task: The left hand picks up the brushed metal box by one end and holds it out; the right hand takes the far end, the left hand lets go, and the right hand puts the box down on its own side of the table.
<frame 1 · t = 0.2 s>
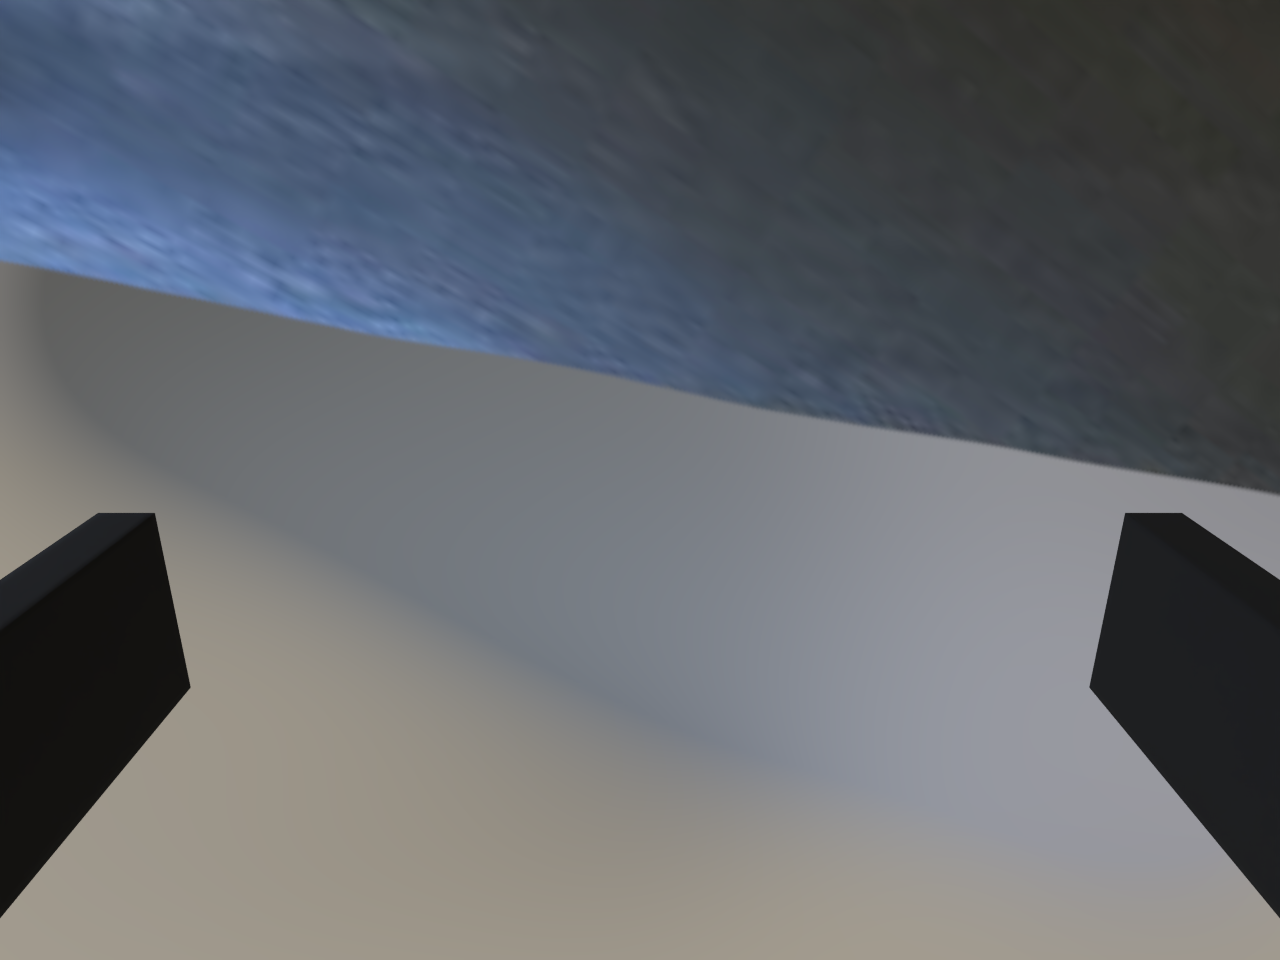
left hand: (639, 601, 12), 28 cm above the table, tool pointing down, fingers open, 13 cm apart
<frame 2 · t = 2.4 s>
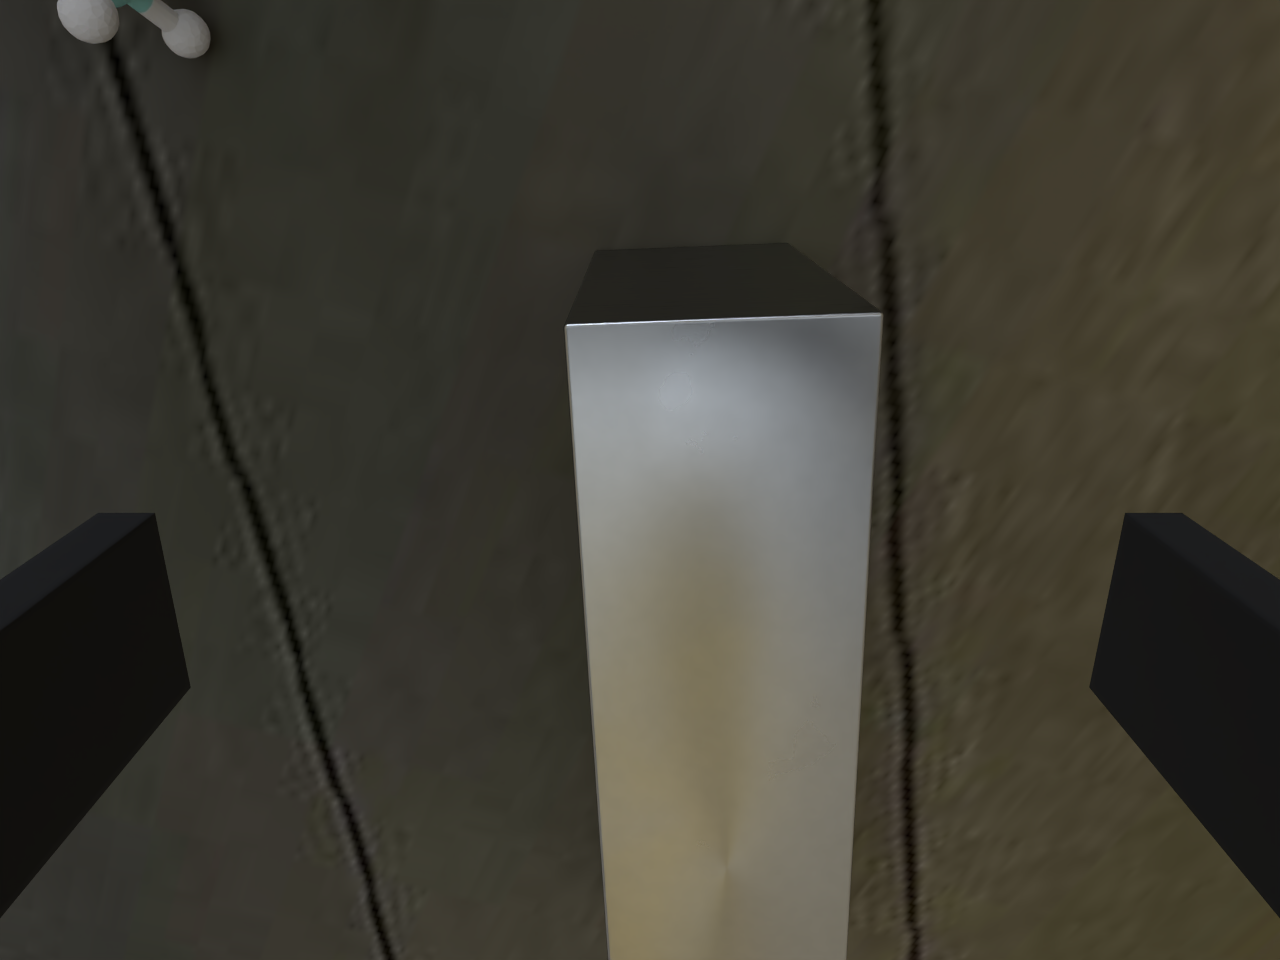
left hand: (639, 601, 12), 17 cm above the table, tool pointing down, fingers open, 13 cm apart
box: (698, 621, 32), on the table
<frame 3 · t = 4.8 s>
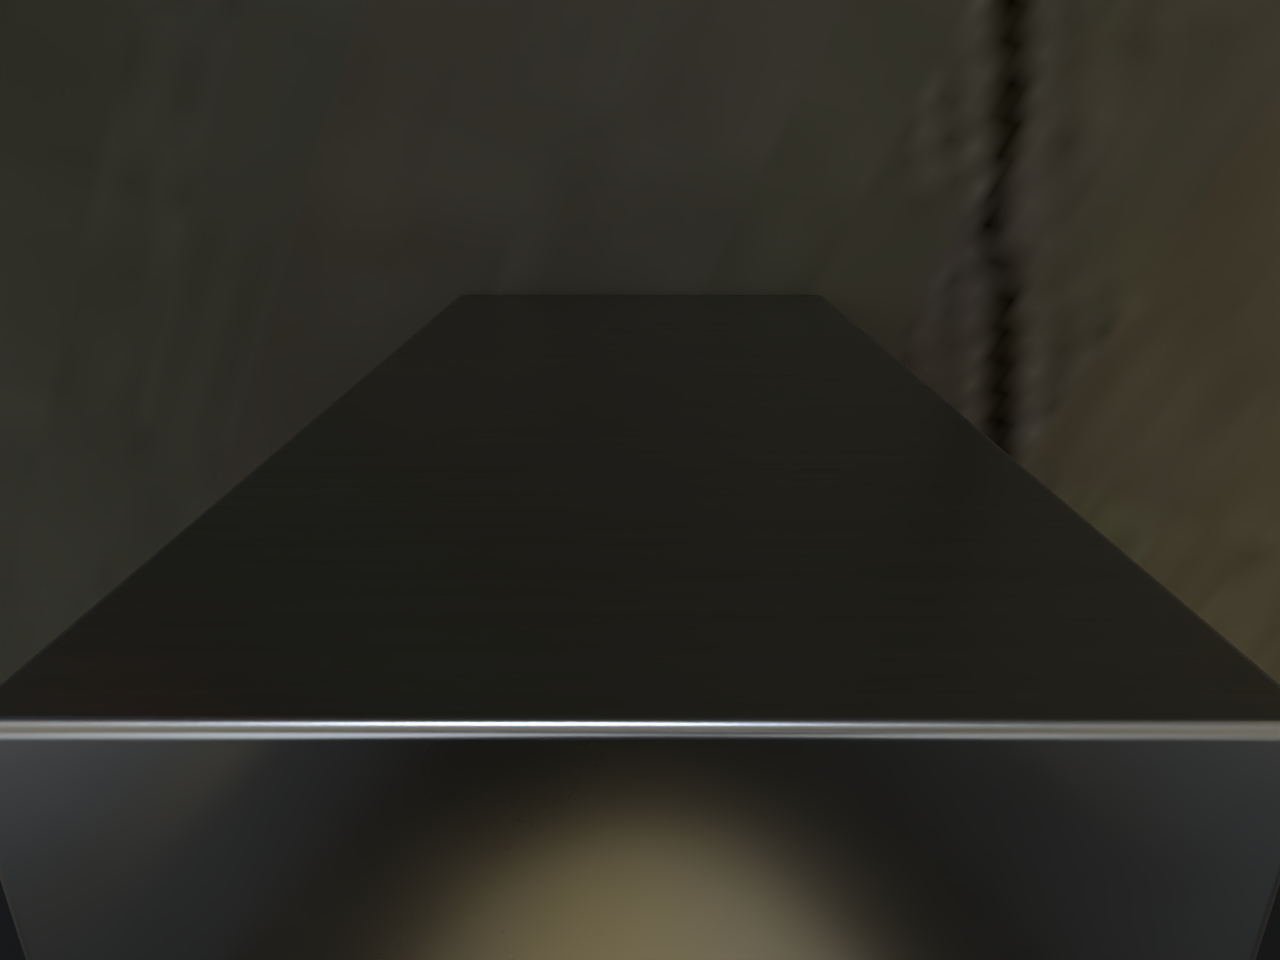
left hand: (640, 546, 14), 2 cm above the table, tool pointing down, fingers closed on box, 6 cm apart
box: (640, 909, 19), on the table, touching left hand
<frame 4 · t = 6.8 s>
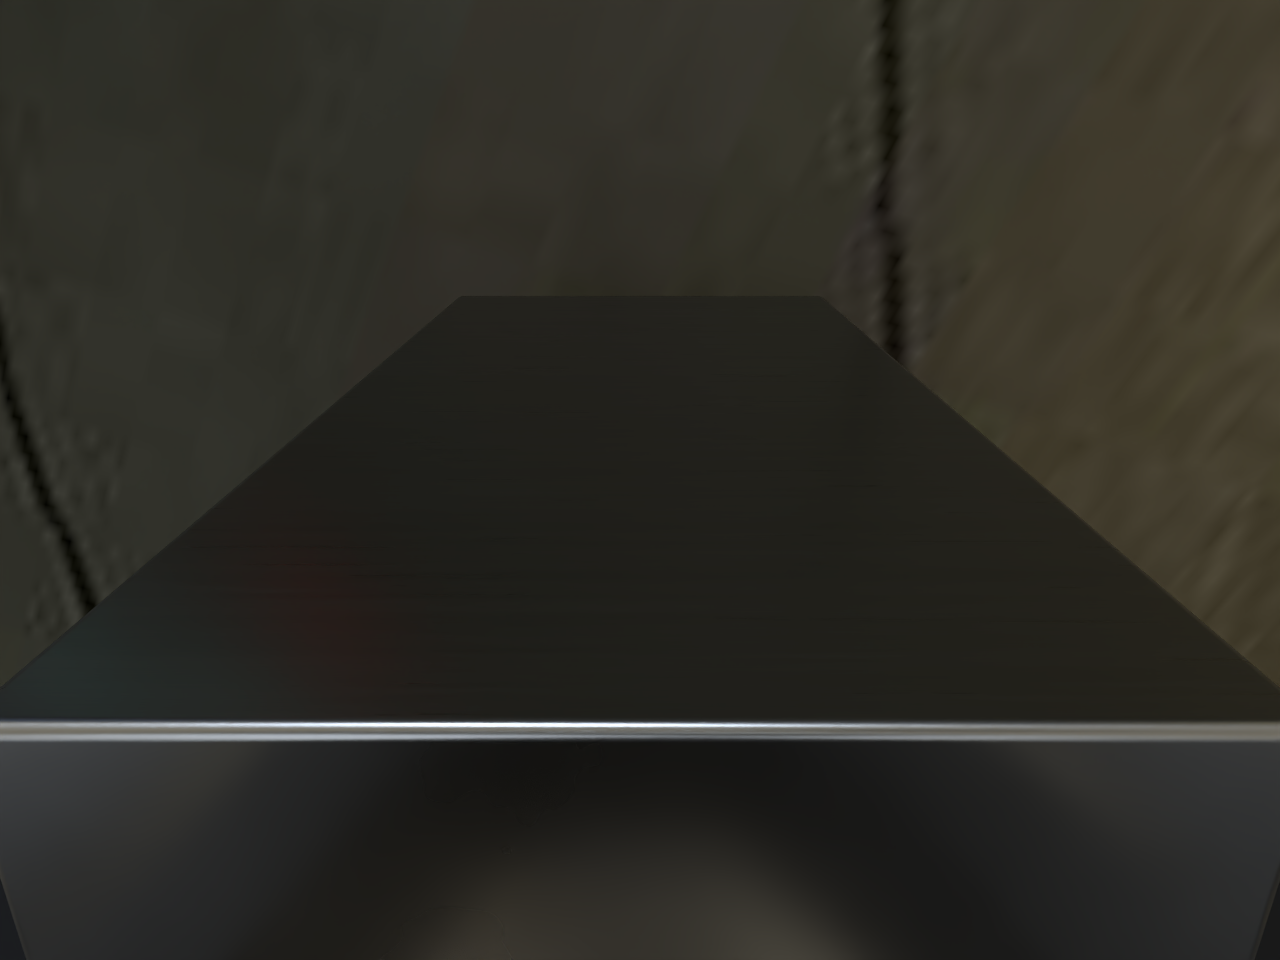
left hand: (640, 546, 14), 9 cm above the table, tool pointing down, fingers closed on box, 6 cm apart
box: (640, 910, 19), point 7 cm above the table, touching left hand
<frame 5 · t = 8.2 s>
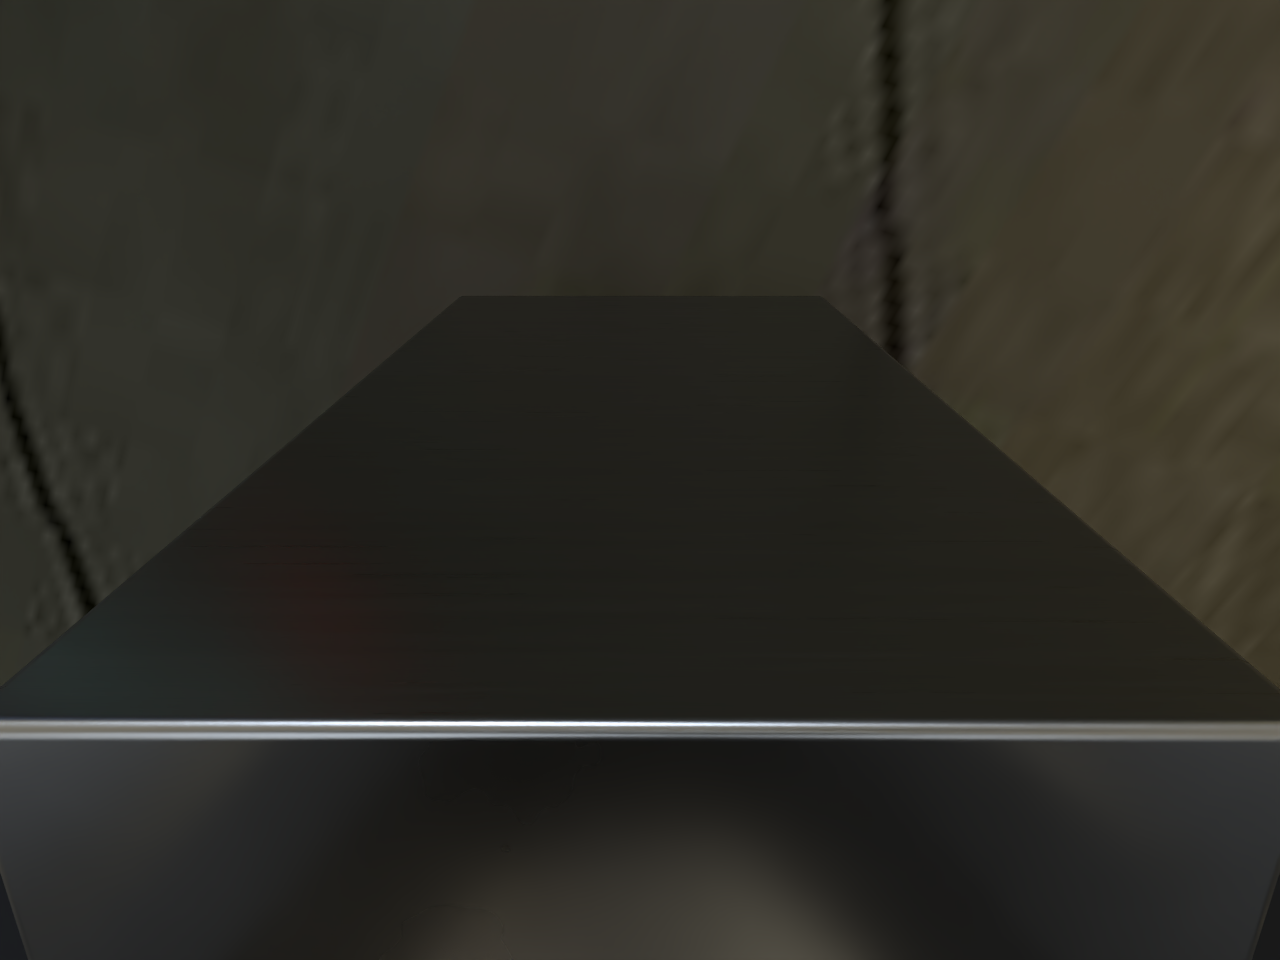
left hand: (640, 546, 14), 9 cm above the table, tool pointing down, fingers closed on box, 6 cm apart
box: (640, 909, 19), point 7 cm above the table, touching left hand, right hand
when the left hand's fingers open (9 cm above the table, at t = 9.3 s): box stays where it is, held by the right hand.
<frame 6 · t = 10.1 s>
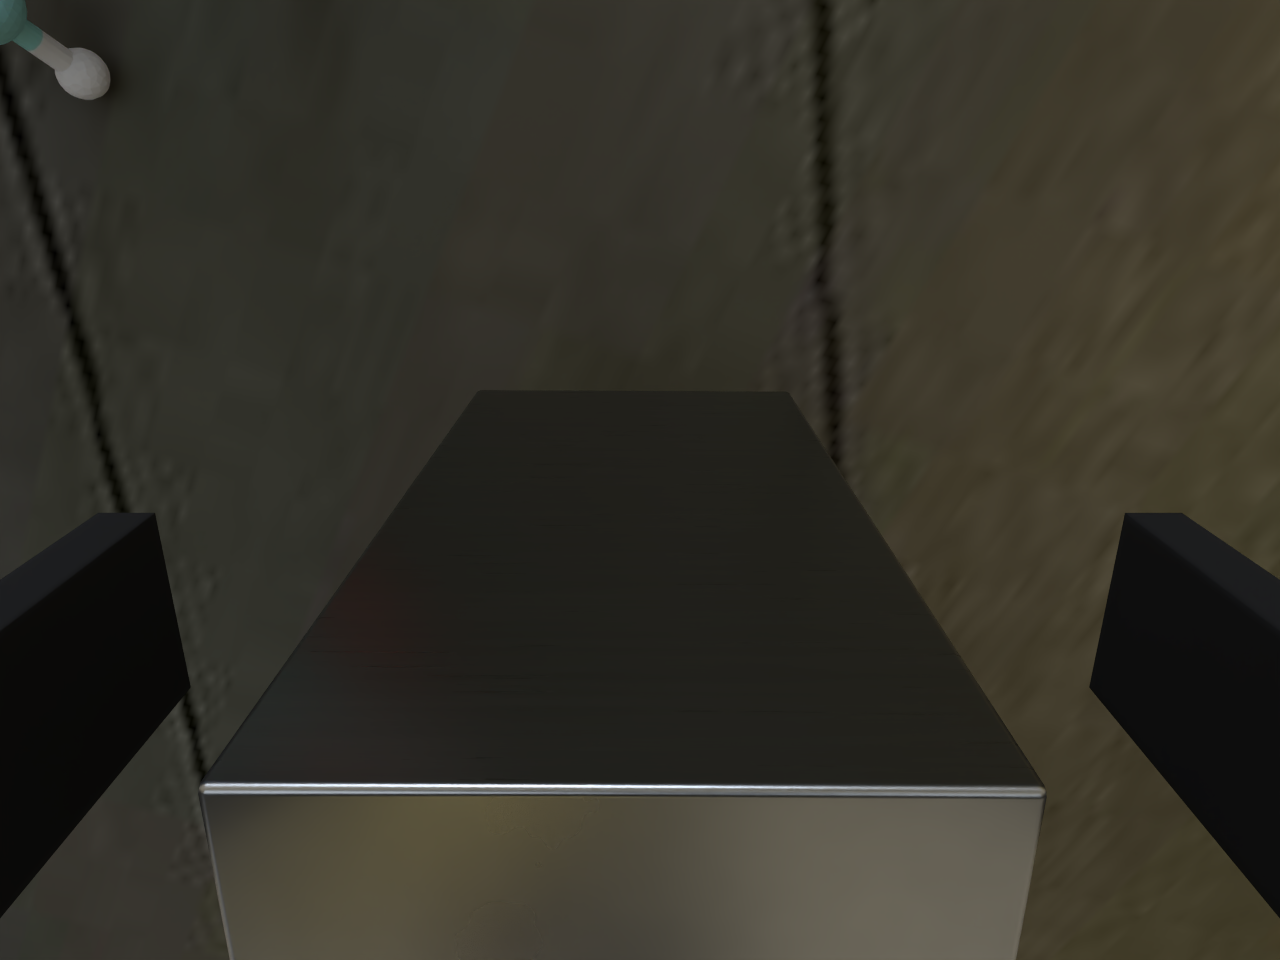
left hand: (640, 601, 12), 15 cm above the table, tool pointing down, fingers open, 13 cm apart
box: (631, 923, 22), point 9 cm above the table, touching right hand
when the right hand's fingers open (8 cm above the table, at t = 13.7 s): box stays where it is, on the table.
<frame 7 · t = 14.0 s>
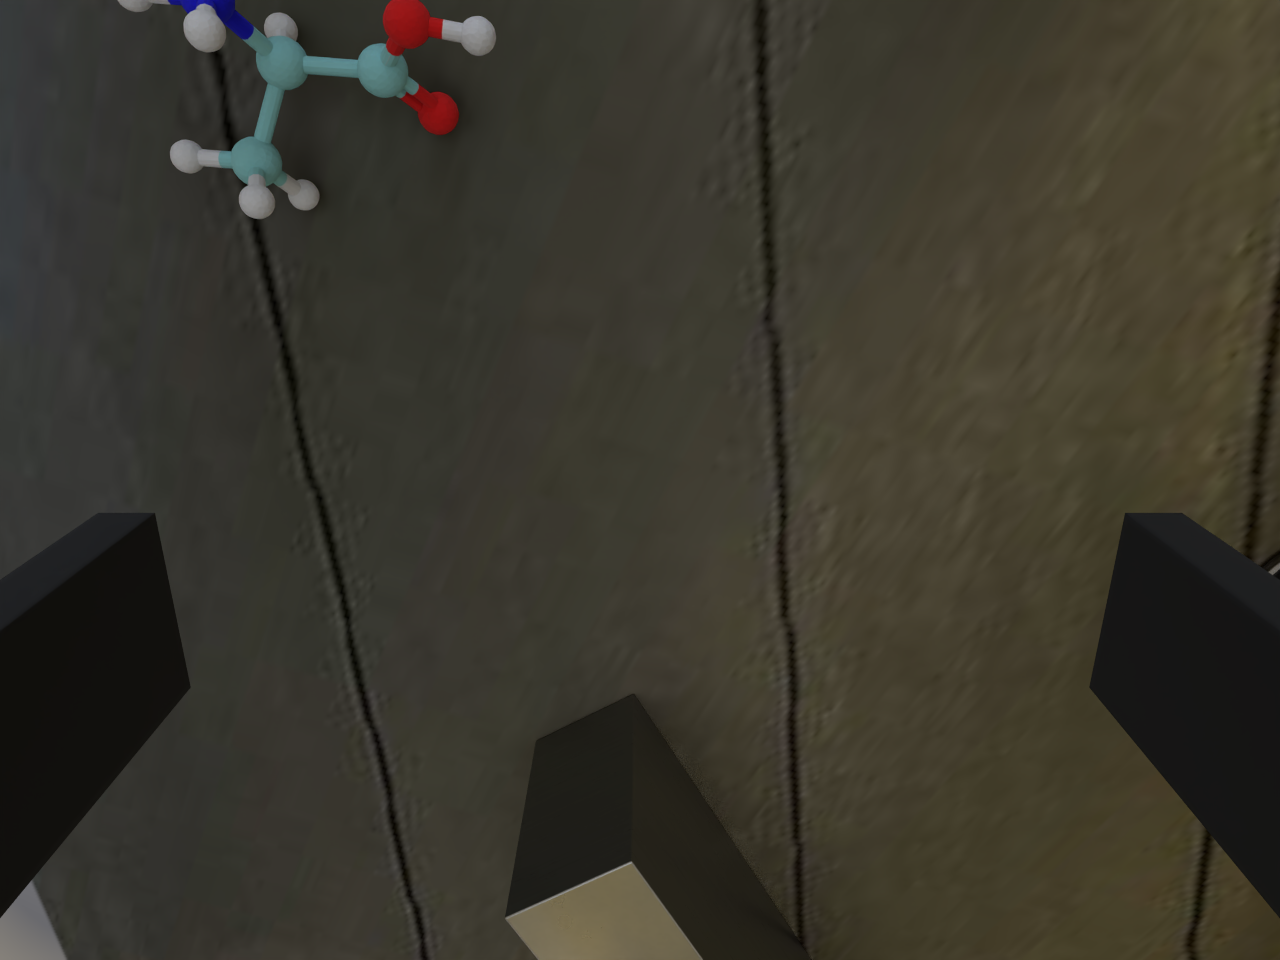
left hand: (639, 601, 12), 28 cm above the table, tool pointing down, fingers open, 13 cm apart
box: (702, 887, 51), on the table
molecular model: (327, 79, 36), on the table
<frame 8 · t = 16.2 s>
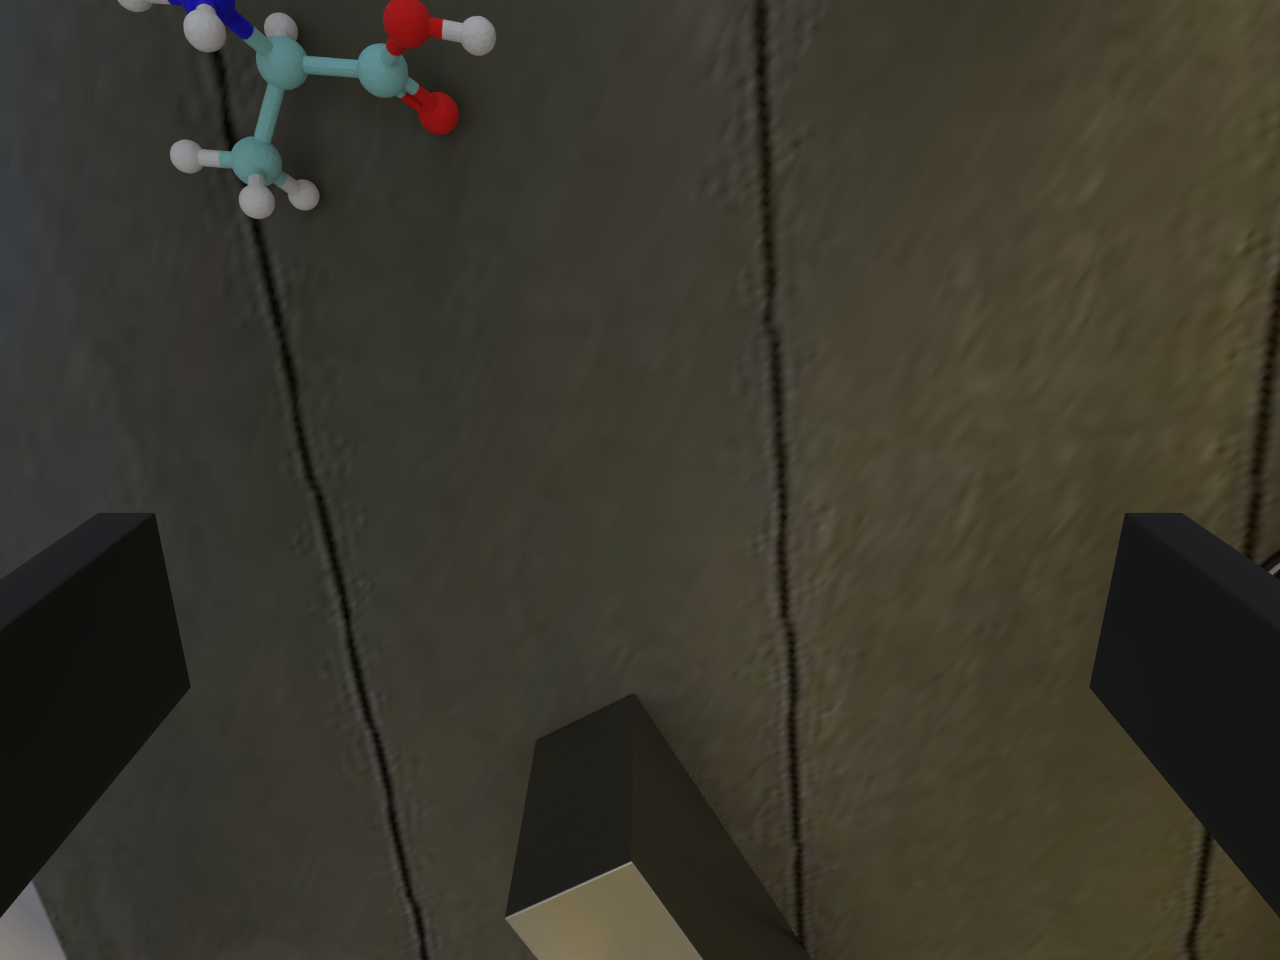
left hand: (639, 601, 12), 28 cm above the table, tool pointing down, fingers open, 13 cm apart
box: (702, 887, 51), on the table
molecular model: (327, 79, 36), on the table
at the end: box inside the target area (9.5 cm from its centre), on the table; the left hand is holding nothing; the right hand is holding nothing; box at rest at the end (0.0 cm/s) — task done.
